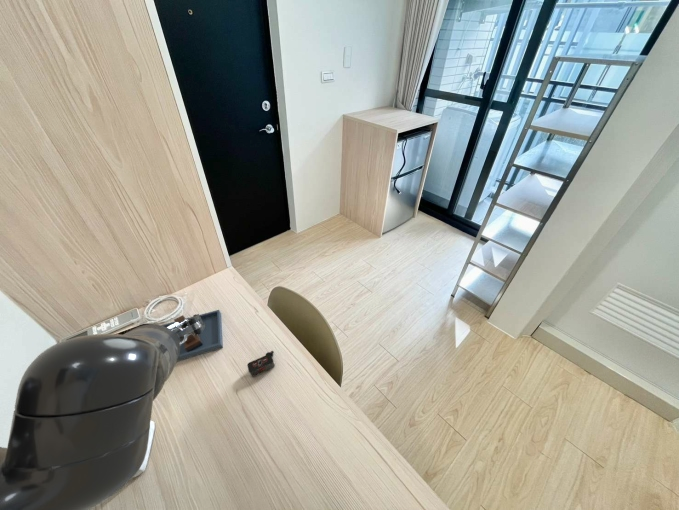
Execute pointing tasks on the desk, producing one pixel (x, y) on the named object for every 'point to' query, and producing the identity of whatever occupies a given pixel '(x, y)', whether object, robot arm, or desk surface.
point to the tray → (205, 335)
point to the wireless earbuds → (261, 364)
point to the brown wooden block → (190, 338)
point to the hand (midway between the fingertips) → (161, 338)
